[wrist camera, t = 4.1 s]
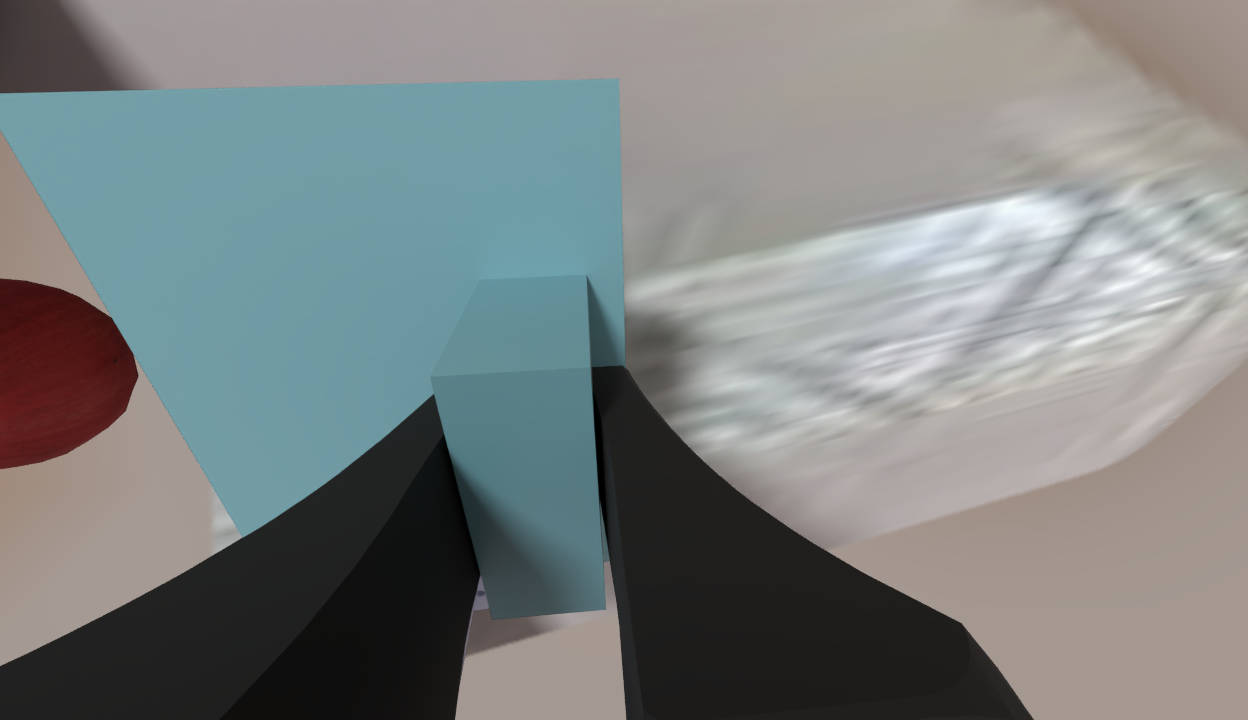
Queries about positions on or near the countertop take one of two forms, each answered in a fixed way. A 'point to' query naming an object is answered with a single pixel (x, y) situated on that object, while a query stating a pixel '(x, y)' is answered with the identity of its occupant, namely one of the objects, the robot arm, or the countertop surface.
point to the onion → (57, 372)
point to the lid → (363, 288)
